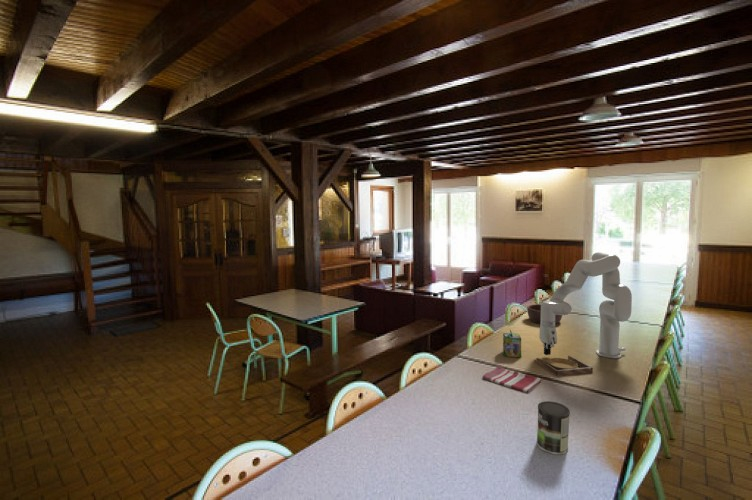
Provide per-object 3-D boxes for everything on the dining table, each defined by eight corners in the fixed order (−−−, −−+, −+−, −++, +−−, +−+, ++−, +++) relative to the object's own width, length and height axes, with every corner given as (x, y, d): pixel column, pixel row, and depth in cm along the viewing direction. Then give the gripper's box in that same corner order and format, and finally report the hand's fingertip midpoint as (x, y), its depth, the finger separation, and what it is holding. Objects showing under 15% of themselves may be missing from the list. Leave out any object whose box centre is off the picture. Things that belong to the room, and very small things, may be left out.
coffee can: (546, 455, 132) (547, 416, 130) (531, 438, 142) (532, 401, 141) (574, 453, 133) (576, 414, 131) (558, 436, 143) (559, 400, 142)
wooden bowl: (569, 325, 280) (569, 311, 279) (534, 326, 280) (534, 312, 279) (553, 316, 305) (554, 303, 304) (521, 316, 305) (522, 304, 304)
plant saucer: (542, 362, 214) (543, 357, 214) (570, 362, 213) (570, 357, 213) (553, 373, 199) (553, 368, 199) (582, 373, 198) (582, 368, 198)
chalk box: (521, 357, 220) (521, 332, 218) (504, 356, 222) (505, 331, 220) (518, 352, 229) (519, 327, 227) (502, 351, 231) (503, 327, 229)
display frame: (569, 359, 216) (569, 355, 216) (592, 372, 199) (592, 367, 199) (536, 362, 213) (536, 358, 212) (556, 375, 195) (556, 371, 195)
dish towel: (498, 369, 205) (498, 365, 205) (542, 383, 188) (542, 377, 188) (481, 379, 193) (481, 374, 193) (527, 395, 177) (528, 389, 176)
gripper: (562, 326, 212) (561, 358, 214) (545, 319, 226) (545, 349, 228) (550, 327, 210) (549, 359, 212) (534, 320, 225) (533, 350, 227)
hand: (547, 354), depth 220 cm, fingers closed
